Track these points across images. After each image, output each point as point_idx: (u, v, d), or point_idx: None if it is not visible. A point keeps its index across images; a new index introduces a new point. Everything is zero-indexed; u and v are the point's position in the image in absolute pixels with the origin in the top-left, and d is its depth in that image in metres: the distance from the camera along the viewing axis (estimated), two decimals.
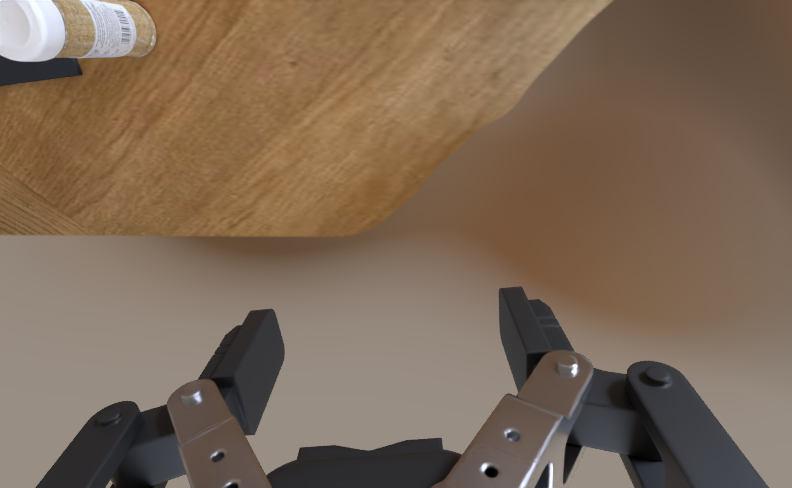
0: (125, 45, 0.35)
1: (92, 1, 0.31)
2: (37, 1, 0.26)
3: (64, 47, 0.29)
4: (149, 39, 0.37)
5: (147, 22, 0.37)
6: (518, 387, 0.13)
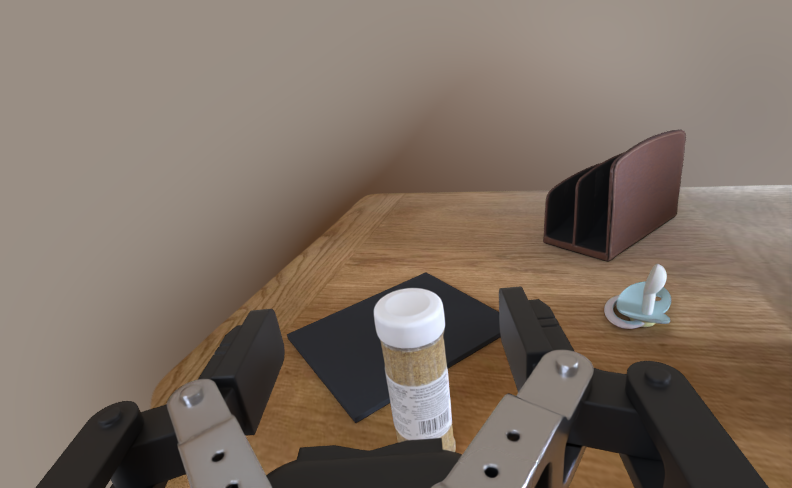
0: (417, 429, 0.30)
1: (448, 383, 0.30)
2: (438, 317, 0.27)
3: (403, 351, 0.27)
4: None
5: None
6: (518, 387, 0.13)
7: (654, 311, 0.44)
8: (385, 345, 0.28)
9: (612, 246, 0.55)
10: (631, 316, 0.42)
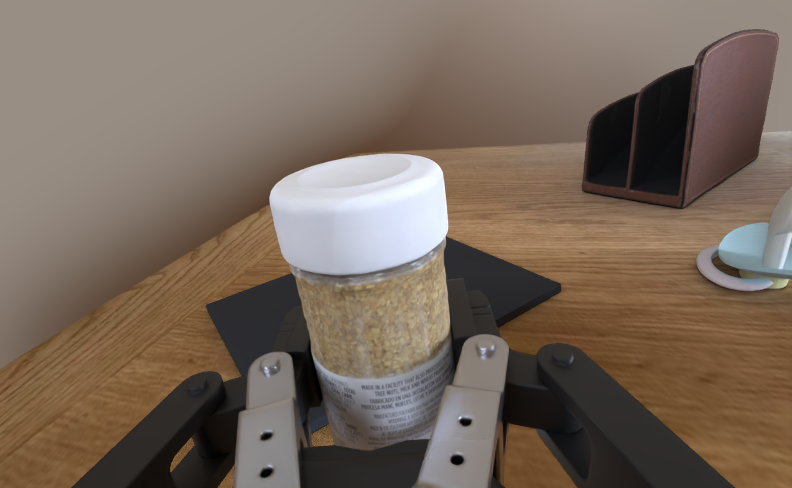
0: None
1: None
2: (431, 194, 0.10)
3: (338, 285, 0.10)
4: None
5: None
6: None
7: (784, 265, 0.27)
8: (297, 273, 0.11)
9: (689, 186, 0.38)
10: (756, 269, 0.25)
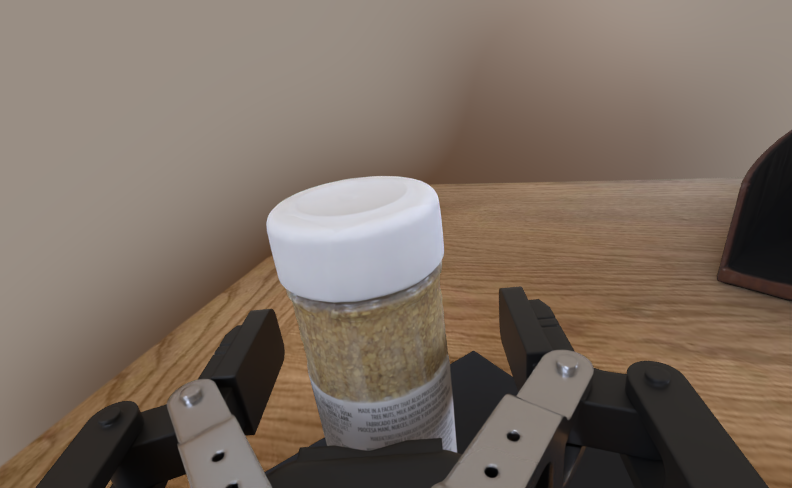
0: None
1: (451, 393, 0.13)
2: (426, 222, 0.10)
3: (334, 312, 0.10)
4: None
5: None
6: (518, 387, 0.13)
7: None
8: (293, 298, 0.11)
9: None
10: None
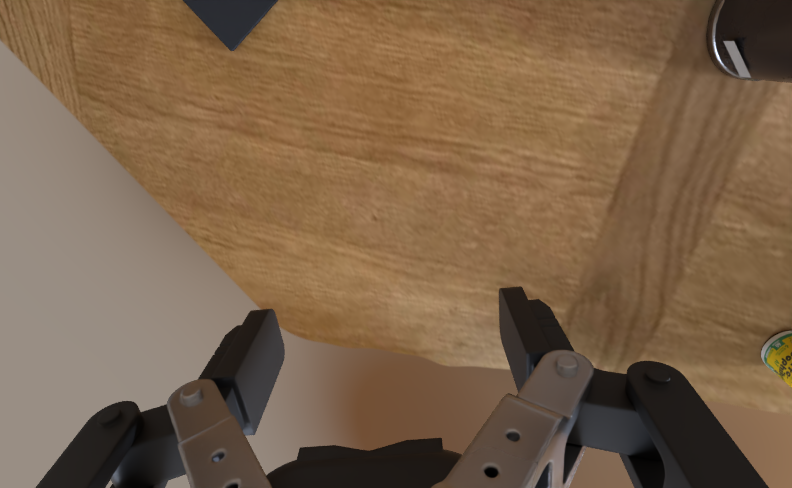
0: None
1: None
2: None
3: None
4: None
5: None
6: (518, 387, 0.13)
7: None
8: None
9: None
10: None
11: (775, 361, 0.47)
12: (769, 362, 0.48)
